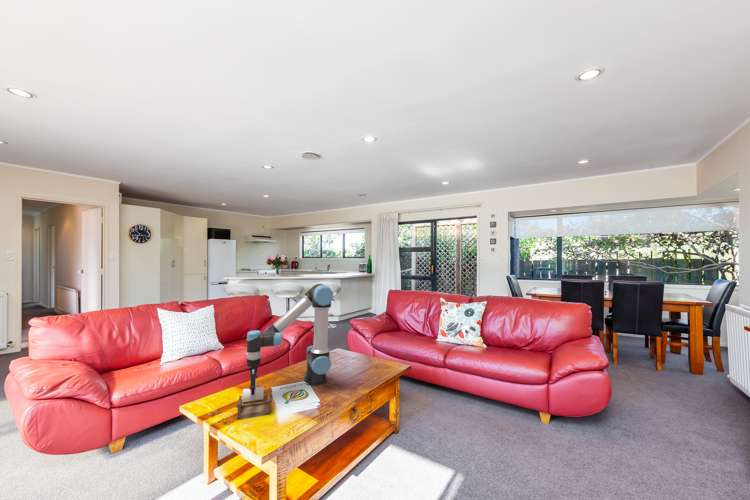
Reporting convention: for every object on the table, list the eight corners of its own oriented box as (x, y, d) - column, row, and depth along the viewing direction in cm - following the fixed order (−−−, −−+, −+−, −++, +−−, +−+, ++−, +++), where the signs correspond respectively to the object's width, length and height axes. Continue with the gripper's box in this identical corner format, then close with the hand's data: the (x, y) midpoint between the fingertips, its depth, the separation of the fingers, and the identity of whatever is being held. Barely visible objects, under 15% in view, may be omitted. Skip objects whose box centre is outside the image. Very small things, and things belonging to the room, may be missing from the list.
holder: (271, 404, 177) (271, 391, 177) (271, 414, 166) (271, 400, 166) (237, 409, 171) (237, 396, 171) (235, 419, 160) (235, 405, 161)
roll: (263, 391, 188) (263, 383, 184) (263, 402, 182) (263, 394, 179) (243, 394, 184) (242, 386, 181) (242, 405, 179) (242, 397, 175)
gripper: (247, 352, 194) (247, 386, 194) (245, 366, 170) (245, 405, 170) (260, 351, 197) (260, 385, 196) (260, 364, 173) (259, 403, 173)
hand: (253, 394), depth 183 cm, fingers open, 13 cm apart
